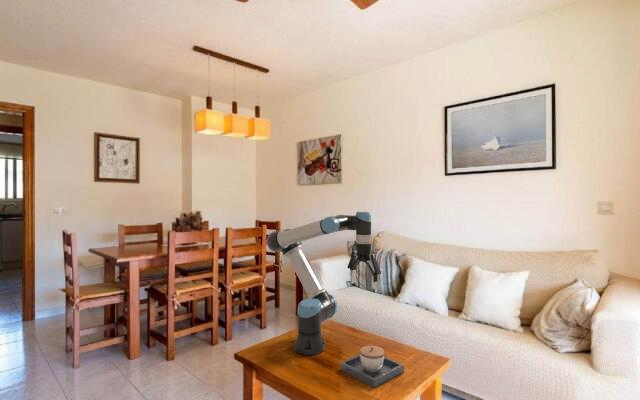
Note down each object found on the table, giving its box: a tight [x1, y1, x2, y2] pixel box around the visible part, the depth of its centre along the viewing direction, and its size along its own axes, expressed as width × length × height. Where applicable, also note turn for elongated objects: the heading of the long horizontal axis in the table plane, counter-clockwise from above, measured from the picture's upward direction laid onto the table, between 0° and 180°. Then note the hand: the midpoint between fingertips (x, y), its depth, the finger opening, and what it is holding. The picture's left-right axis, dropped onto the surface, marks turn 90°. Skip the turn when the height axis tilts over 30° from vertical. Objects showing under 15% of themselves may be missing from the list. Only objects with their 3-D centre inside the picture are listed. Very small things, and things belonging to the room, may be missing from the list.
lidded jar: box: [359, 345, 385, 372], centre depth 152 cm, size 11×11×9 cm
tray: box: [339, 354, 405, 389], centre depth 152 cm, size 19×19×3 cm
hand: (363, 285), depth 173 cm, fingers open, 13 cm apart
